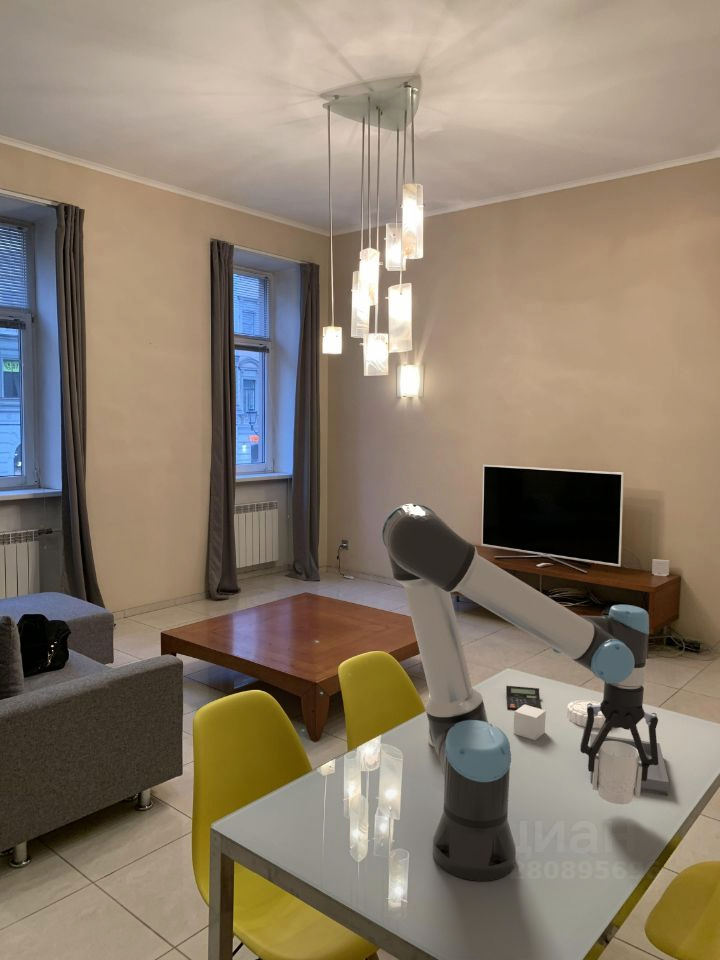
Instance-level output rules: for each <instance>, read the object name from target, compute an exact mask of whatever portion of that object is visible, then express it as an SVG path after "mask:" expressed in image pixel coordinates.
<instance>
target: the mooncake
mask: <svg viewBox="0 0 720 960" xmlns="http://www.w3.org/2000/svg"><path fill="white" fill-rule="evenodd" d="M589 703H591V704H592V705H600V704H601V703H602V702H601V703H600V702H598V701H593V700H582V699H581V700H579V699H578V700H573V701H571V702H569V703H568V704H567V705H566V706H567V707H566V718H567V719H568V721H570V722H572V723H573V724H576V725H578V726H582V727H584V728H585V725H586V720H587V716H588V714H587V704H589ZM605 719H606V718H605V717H604V715H603V714H602V712H601V711H600V712H598V715H597V716H596V717H594V723H593V727H592V729H601V727H602V726H603V724H604V721H605Z"/></svg>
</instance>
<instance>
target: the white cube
mask: <svg viewBox="0 0 720 960" xmlns="http://www.w3.org/2000/svg"><path fill="white" fill-rule="evenodd" d="M513 711H514V714H513V715H514V716H513V734H514V735H517V736H519V737H522V738H526V739H529V740H534V741H536V740H537V739H539V738H540V737H541V736H543V734H545V733H546V718H547V717H546V715H547V710H545V709H542V708H541V709H539V708H535V707H531V706H528V705H523V706H522V707H520V708H519V709H517V710H513Z"/></svg>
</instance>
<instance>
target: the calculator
mask: <svg viewBox="0 0 720 960" xmlns="http://www.w3.org/2000/svg"><path fill="white" fill-rule="evenodd" d="M505 690H506V692H505V694H506V698H505V699H506V708H507V709H506V710H509V711H511V710H512V711H516V710H517V709H519V708H520V707H522V706H523V705H528V706H531V707H535V708H539V709H542V705H541V699H540V688H537V687H526V686H525V687H524V686H516V685H515V686H514V685H513V686H512V685H506V687H505Z"/></svg>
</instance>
